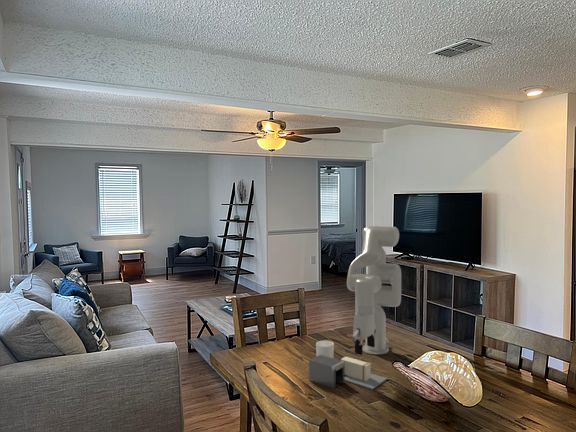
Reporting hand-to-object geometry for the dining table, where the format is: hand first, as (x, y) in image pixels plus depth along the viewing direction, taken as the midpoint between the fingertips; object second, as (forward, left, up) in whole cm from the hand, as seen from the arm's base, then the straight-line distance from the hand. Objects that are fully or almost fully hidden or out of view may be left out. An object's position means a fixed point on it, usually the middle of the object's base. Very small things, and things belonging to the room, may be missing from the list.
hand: (364, 349), depth 178 cm
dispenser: (+12, -11, -12) cm, 20 cm away
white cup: (-1, -21, -12) cm, 24 cm away
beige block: (+1, -4, -11) cm, 12 cm away
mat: (+1, 0, -12) cm, 12 cm away
